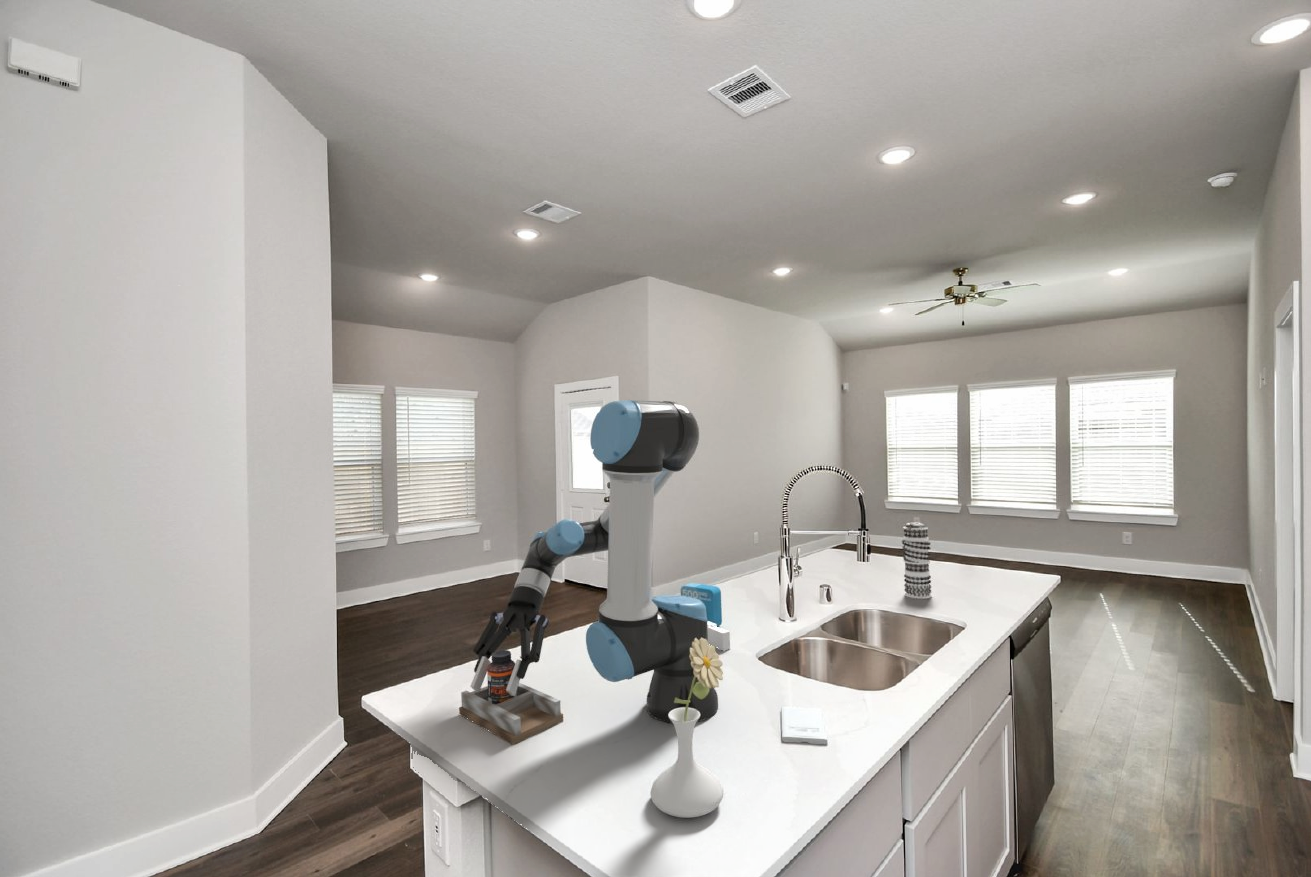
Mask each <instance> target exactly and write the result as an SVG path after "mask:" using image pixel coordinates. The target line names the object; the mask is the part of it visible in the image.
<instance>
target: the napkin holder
mask: <svg viewBox="0 0 1311 877" xmlns="http://www.w3.org/2000/svg"><path fill="white" fill-rule="evenodd" d="M707 632H708V644H710V645H712V646H714V647H718V648H719V649H721V650H723V651H722V652H725V651H724V650H727V649H730V650H731V641H730V637H731V634H730V631H729V630H726V629H724V628H722V627H720V626H718V627H717V624H715V623H712V622H710V621H708V622H707ZM719 649H718V650H719ZM721 650H720V651H721ZM727 651H728V650H727Z"/></svg>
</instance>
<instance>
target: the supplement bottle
mask: <svg viewBox="0 0 1311 877" xmlns="http://www.w3.org/2000/svg"><path fill="white" fill-rule="evenodd" d="M515 664H516V661H514V660H513V659H512V653H511V651H510V650H506V649H500V650H496V651H495V652H494V653H492V656H491V663H490V664H489V665H488V668H487V673H486V676H487V677H486V678H487V686H488V702H490V703H492V704H494V705H496V704H499V703H501V702H504V701H506V700H509V699H511V698H514V697H516V696H517V690H516V693H515V696H511V695H510V694H509V693H508V692H507V691H506V688H507V686H508V683H509V680H510V677H511V675H512V672H513V669H514V666H515Z"/></svg>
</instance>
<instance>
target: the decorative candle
mask: <svg viewBox="0 0 1311 877" xmlns="http://www.w3.org/2000/svg"><path fill="white" fill-rule="evenodd" d="M902 528H903V540H901V544H902V545H903V546H902V548H901V549H902V554H903V557H902V558H903V562H904V567H905V568H904V574H903V575H904V576H903V577H904V580H903V581H904V585H903V587H904V596H905V597H907V598H912V599H919V600H920V599H924V600H925V599H930V598H932V590H931V589H932V585H931V583H932V580H931V577H932V576H931V574H930V573H931V571H930V566H929V565H930V563H931V561H930V560H931V557H930V556H931V552H929V550H931V547H930V546H931V542H929V535H928V529H929V527H928V526H926V524H925V523H923V522H915V521H913V522H907V523H906V524H905V525H904V526H902Z"/></svg>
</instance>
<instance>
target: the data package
mask: <svg viewBox="0 0 1311 877" xmlns="http://www.w3.org/2000/svg"><path fill="white" fill-rule="evenodd" d="M680 596H686V597H692V598H696V599H698V600H700V601H702V602H703V603H704V604H705V607H706V616H707V620H708V621H710V622H712V623H715V624H717V626H718V627H720V626H721V625H722V622H723V612H722V591H721V588H720V587H718V586H716V585H710V584H702V583H695V582H690V583H687V584H684V585H682V586H681V588H680Z"/></svg>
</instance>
